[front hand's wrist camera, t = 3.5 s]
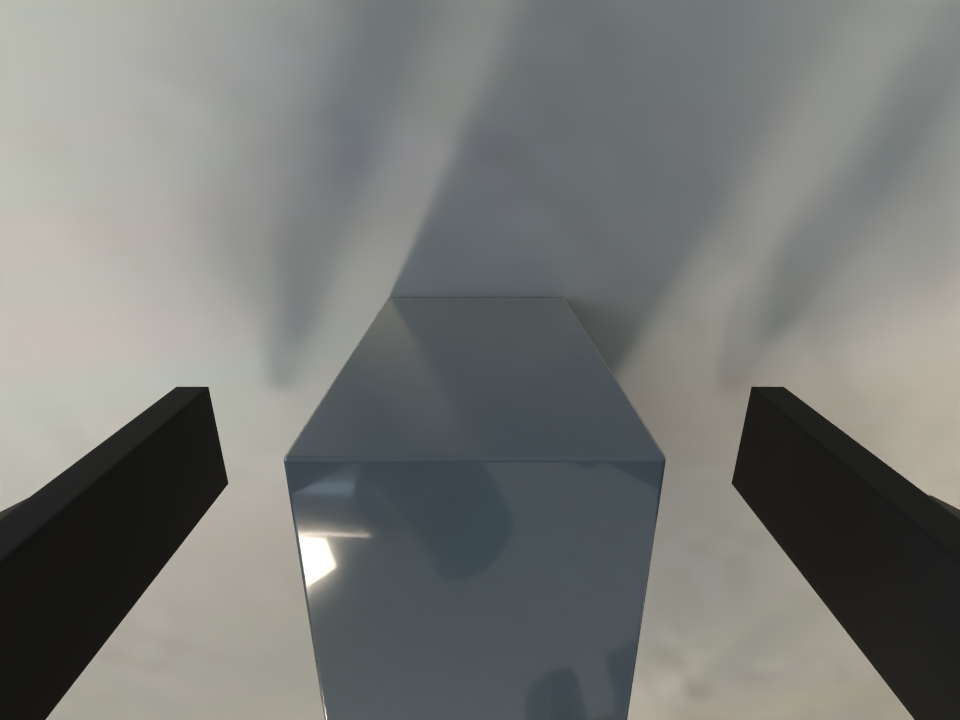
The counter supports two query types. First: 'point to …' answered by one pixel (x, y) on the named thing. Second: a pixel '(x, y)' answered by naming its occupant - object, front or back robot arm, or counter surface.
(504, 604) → the brick
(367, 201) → the counter surface
